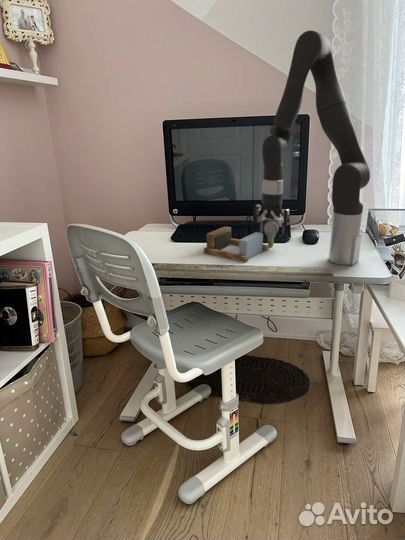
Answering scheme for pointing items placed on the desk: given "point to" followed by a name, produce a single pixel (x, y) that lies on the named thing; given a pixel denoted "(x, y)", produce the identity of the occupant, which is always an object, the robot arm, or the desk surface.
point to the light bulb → (270, 231)
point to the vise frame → (224, 244)
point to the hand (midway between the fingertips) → (270, 233)
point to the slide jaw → (251, 244)
